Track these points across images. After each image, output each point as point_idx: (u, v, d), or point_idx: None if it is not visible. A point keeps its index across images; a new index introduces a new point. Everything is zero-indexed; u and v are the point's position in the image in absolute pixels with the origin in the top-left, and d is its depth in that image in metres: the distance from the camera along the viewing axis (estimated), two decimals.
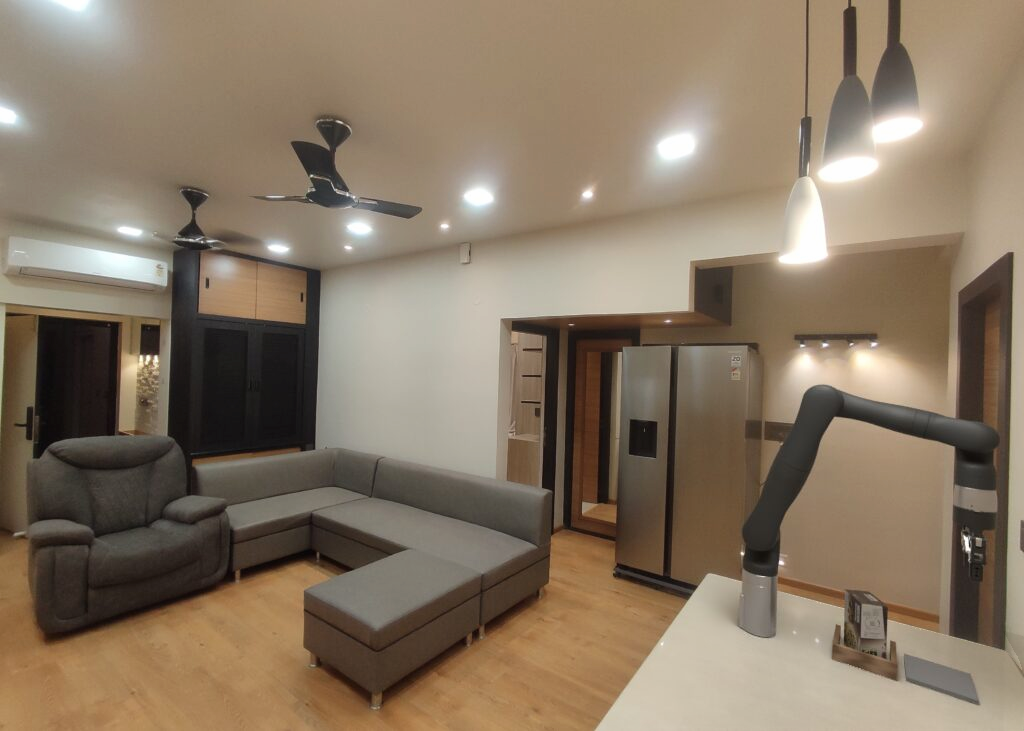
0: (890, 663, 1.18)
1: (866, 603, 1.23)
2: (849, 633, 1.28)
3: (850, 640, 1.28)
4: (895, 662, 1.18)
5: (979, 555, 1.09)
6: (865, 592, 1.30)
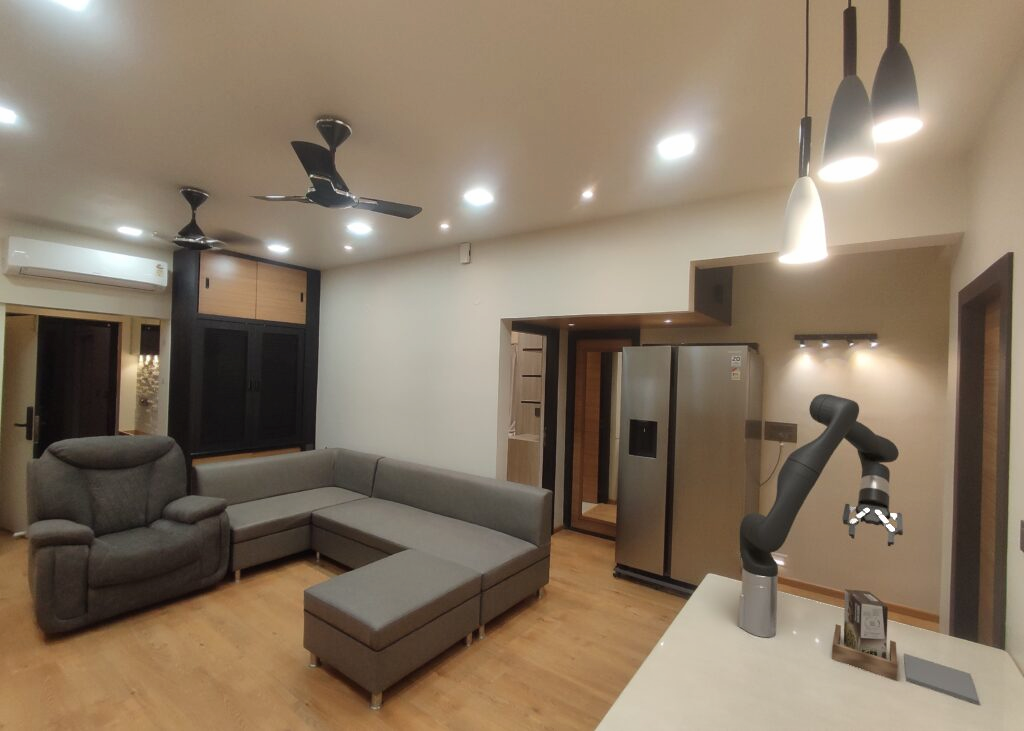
0: (890, 663, 1.18)
1: (866, 603, 1.23)
2: (849, 633, 1.28)
3: (850, 640, 1.28)
4: (895, 662, 1.18)
5: (886, 527, 1.39)
6: (865, 592, 1.30)
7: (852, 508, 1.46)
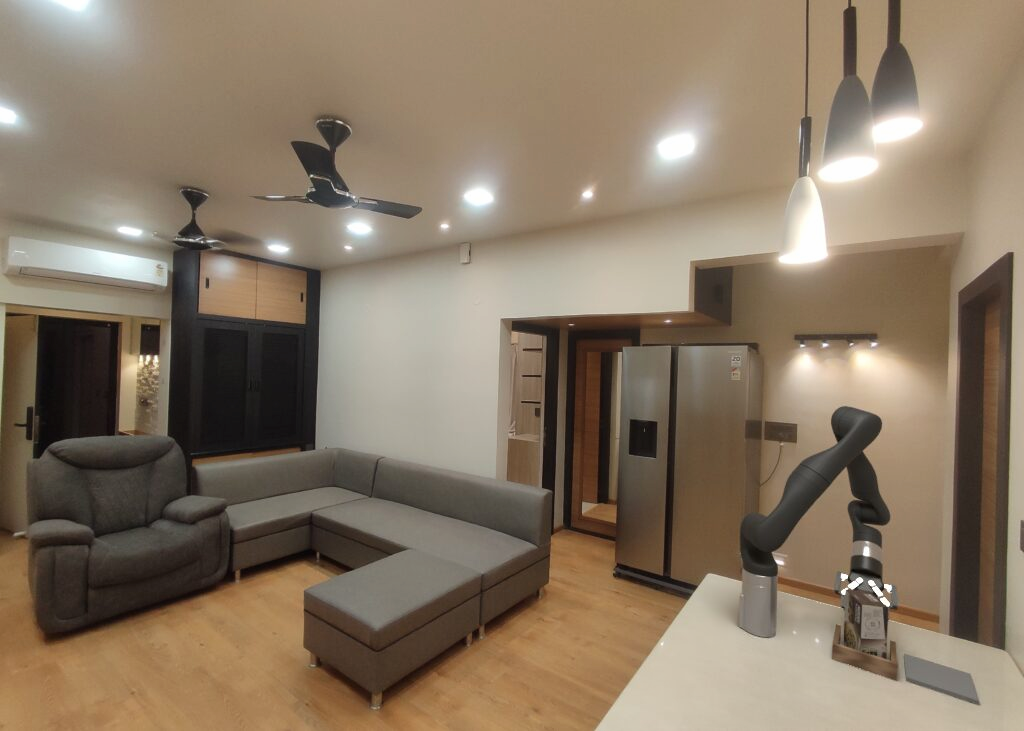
0: (890, 663, 1.18)
1: (867, 604, 1.23)
2: (849, 633, 1.28)
3: (850, 639, 1.28)
4: (895, 662, 1.18)
5: None
6: (865, 591, 1.30)
7: (844, 576, 1.37)
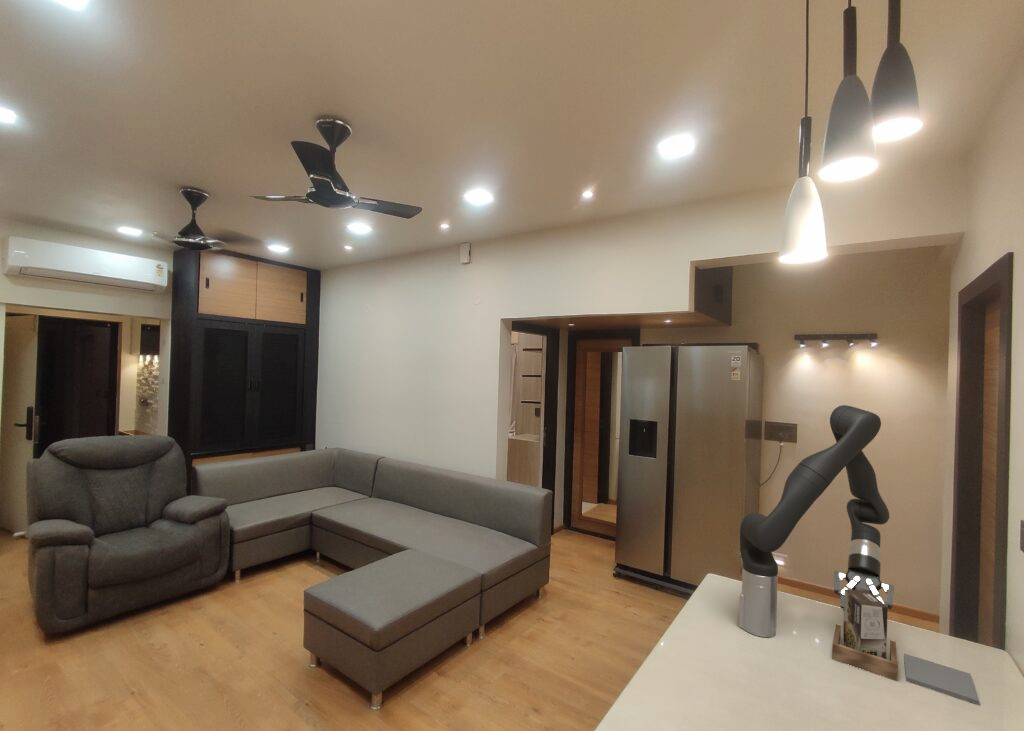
0: (890, 663, 1.18)
1: (866, 605, 1.23)
2: (849, 633, 1.28)
3: (850, 639, 1.28)
4: (895, 662, 1.18)
5: None
6: (865, 591, 1.29)
7: (841, 575, 1.37)
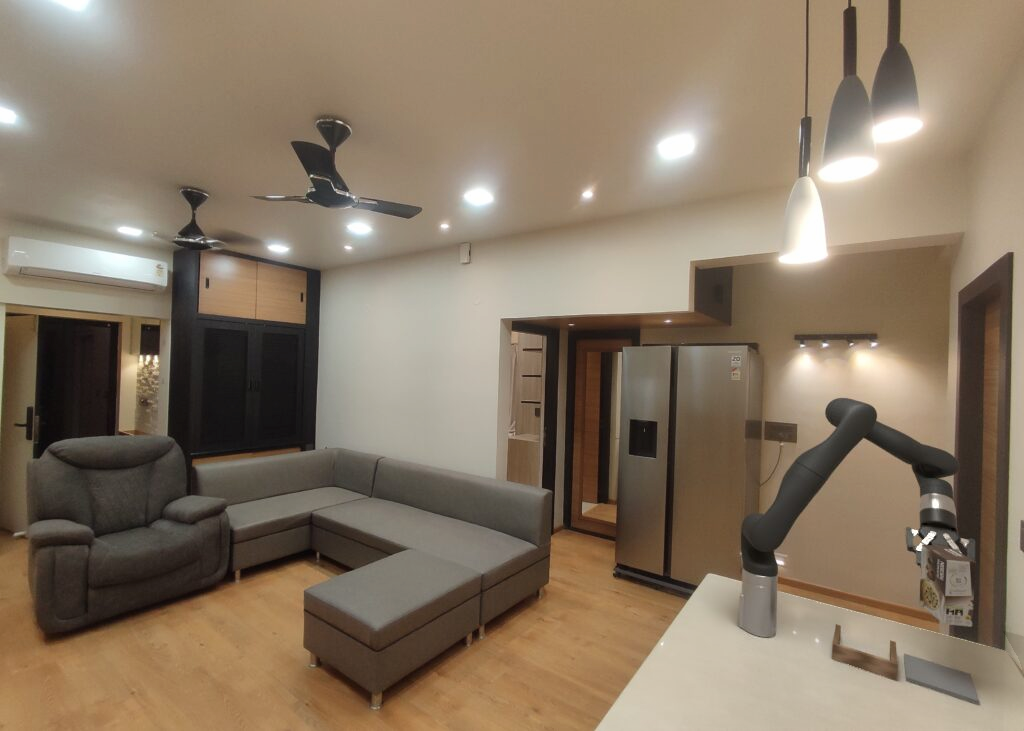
0: (890, 663, 1.18)
1: (952, 560, 1.13)
2: (928, 591, 1.19)
3: (930, 598, 1.18)
4: (895, 662, 1.18)
5: None
6: (944, 546, 1.20)
7: (914, 531, 1.28)
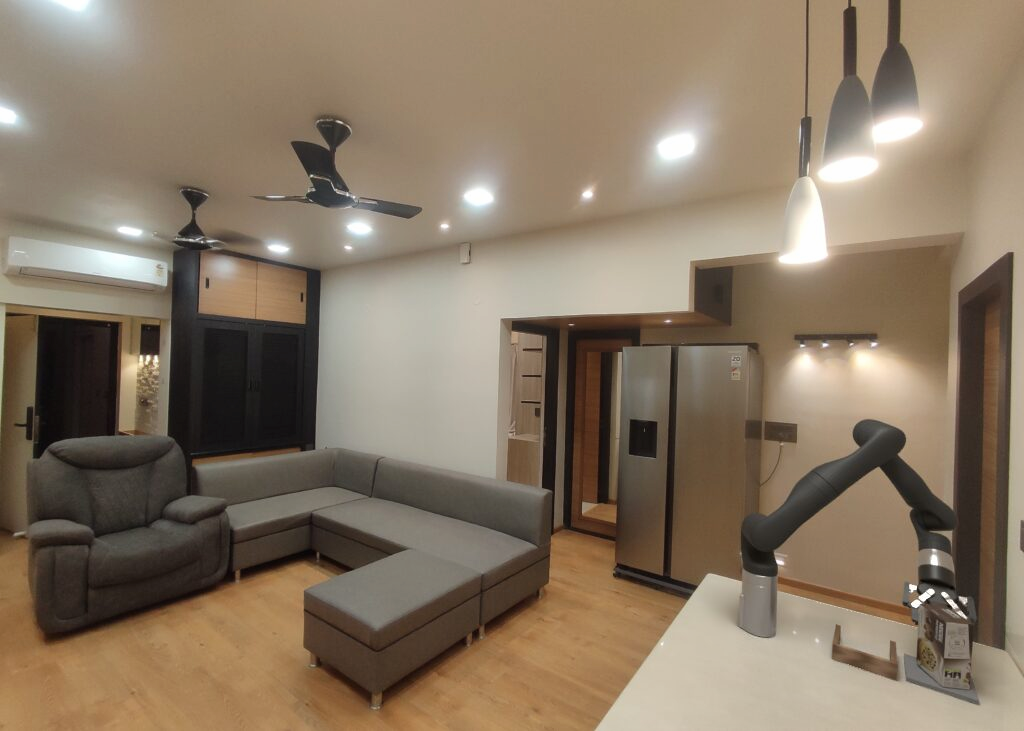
0: (890, 663, 1.18)
1: (951, 622, 1.13)
2: (926, 651, 1.19)
3: (927, 658, 1.18)
4: (895, 662, 1.18)
5: None
6: (942, 606, 1.20)
7: (912, 587, 1.28)
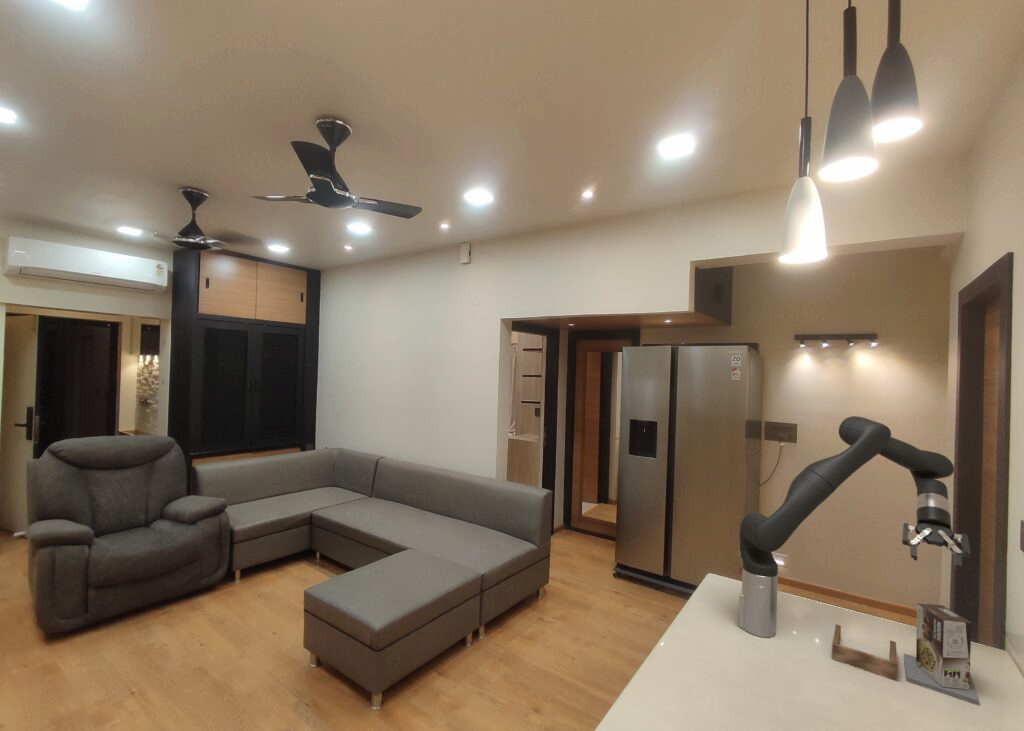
0: (890, 663, 1.18)
1: (949, 620, 1.14)
2: (925, 651, 1.19)
3: (927, 659, 1.18)
4: (895, 662, 1.18)
5: (951, 549, 1.31)
6: (939, 606, 1.21)
7: (911, 528, 1.38)
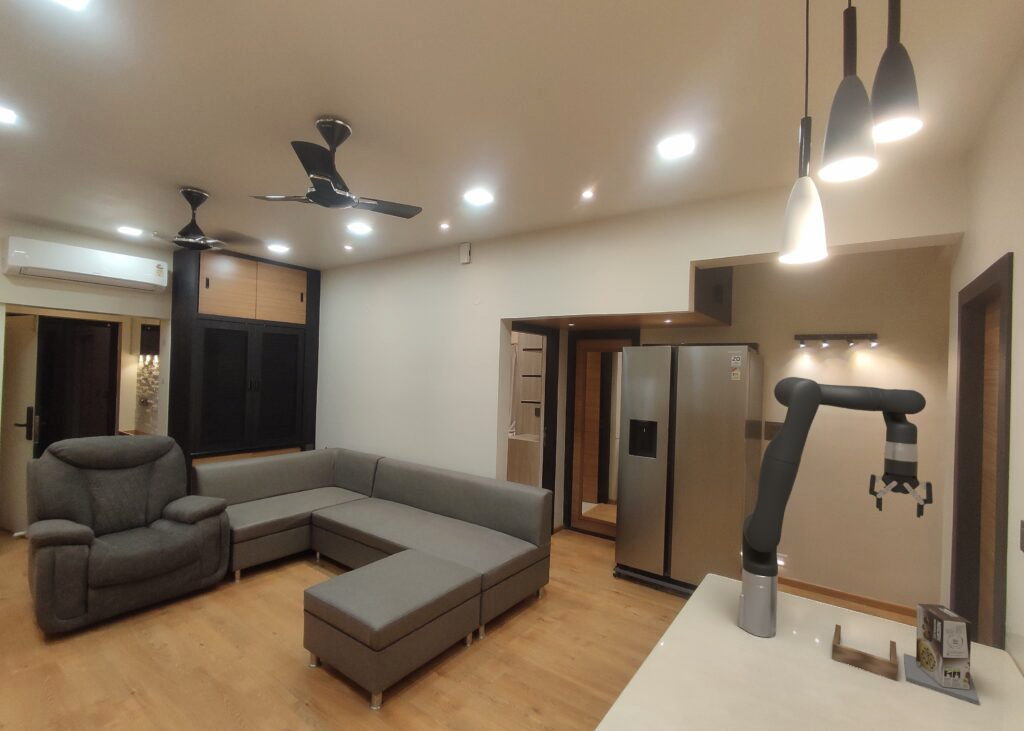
0: (890, 663, 1.18)
1: (949, 620, 1.14)
2: (925, 651, 1.19)
3: (927, 659, 1.18)
4: (895, 662, 1.18)
5: None
6: (939, 606, 1.21)
7: (878, 478, 1.40)
